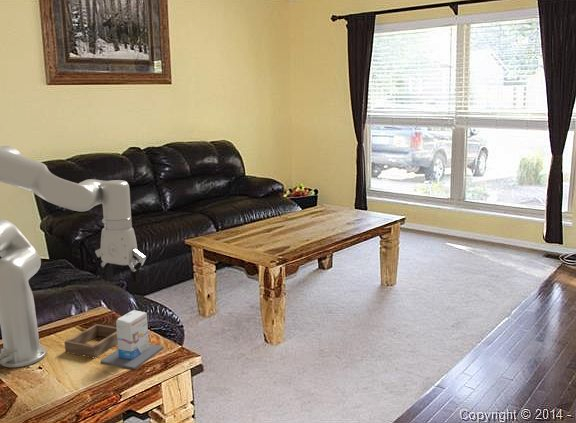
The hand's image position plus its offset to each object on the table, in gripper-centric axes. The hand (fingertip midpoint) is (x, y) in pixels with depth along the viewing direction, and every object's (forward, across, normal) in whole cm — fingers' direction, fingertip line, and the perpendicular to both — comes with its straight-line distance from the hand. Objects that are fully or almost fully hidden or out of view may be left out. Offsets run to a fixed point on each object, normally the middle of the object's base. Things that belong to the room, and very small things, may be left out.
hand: (122, 281), depth 162 cm
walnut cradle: (+23, -12, +1) cm, 26 cm away
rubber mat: (+23, +3, -1) cm, 23 cm away
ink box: (+22, +3, 0) cm, 22 cm away
